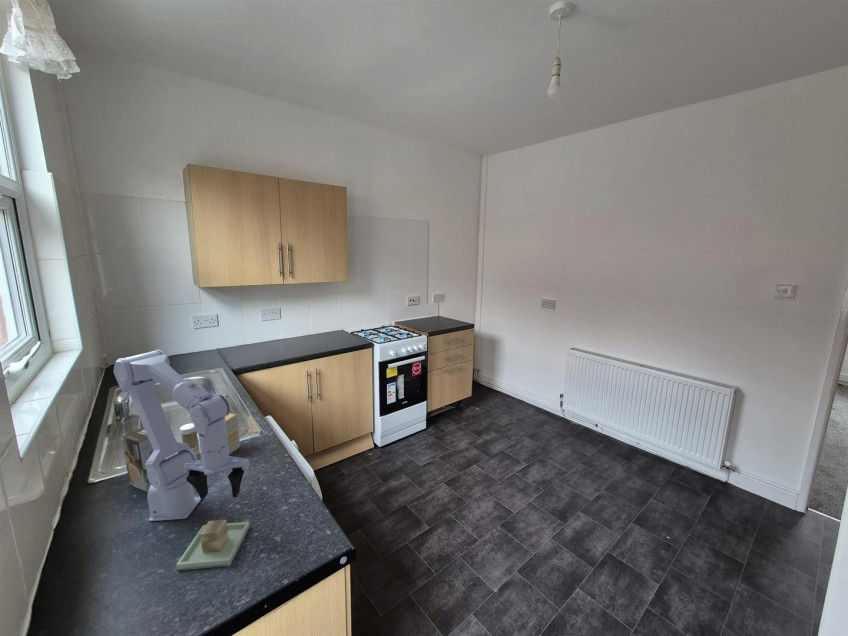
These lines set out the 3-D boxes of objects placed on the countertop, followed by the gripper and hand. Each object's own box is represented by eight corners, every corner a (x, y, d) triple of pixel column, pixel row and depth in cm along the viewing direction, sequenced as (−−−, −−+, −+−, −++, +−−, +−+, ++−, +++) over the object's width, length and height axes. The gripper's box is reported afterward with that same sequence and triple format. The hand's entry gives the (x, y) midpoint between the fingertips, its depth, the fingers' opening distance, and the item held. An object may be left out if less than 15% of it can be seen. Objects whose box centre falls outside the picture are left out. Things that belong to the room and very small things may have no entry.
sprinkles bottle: (201, 464, 114) (196, 426, 112) (184, 469, 112) (179, 430, 109) (201, 457, 118) (196, 421, 116) (185, 462, 116) (179, 425, 113)
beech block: (202, 552, 80) (200, 534, 79) (211, 538, 84) (209, 520, 83) (220, 551, 80) (218, 532, 79) (228, 537, 84) (226, 519, 83)
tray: (176, 570, 76) (176, 564, 76) (203, 530, 87) (202, 525, 87) (230, 565, 77) (229, 560, 77) (249, 527, 88) (249, 521, 88)
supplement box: (229, 446, 125) (225, 412, 123) (241, 447, 124) (237, 413, 122) (211, 459, 117) (206, 423, 115) (223, 460, 116) (219, 425, 114)
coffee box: (170, 479, 107) (162, 432, 104) (147, 493, 101) (138, 442, 98) (151, 472, 110) (143, 426, 107) (127, 485, 104) (119, 436, 101)
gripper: (172, 456, 79) (180, 508, 82) (238, 453, 80) (243, 505, 83) (190, 440, 86) (196, 488, 89) (250, 437, 87) (255, 485, 90)
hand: (220, 495), depth 86 cm, fingers open, 7 cm apart
